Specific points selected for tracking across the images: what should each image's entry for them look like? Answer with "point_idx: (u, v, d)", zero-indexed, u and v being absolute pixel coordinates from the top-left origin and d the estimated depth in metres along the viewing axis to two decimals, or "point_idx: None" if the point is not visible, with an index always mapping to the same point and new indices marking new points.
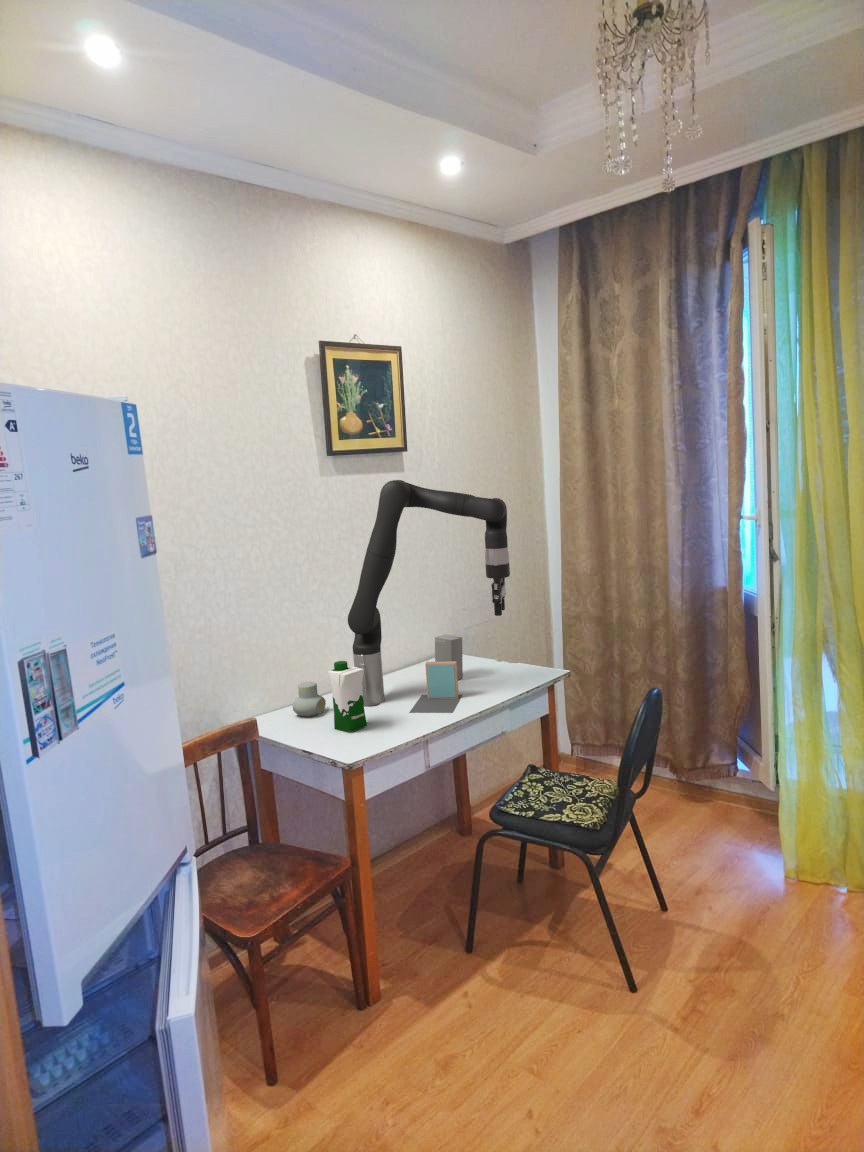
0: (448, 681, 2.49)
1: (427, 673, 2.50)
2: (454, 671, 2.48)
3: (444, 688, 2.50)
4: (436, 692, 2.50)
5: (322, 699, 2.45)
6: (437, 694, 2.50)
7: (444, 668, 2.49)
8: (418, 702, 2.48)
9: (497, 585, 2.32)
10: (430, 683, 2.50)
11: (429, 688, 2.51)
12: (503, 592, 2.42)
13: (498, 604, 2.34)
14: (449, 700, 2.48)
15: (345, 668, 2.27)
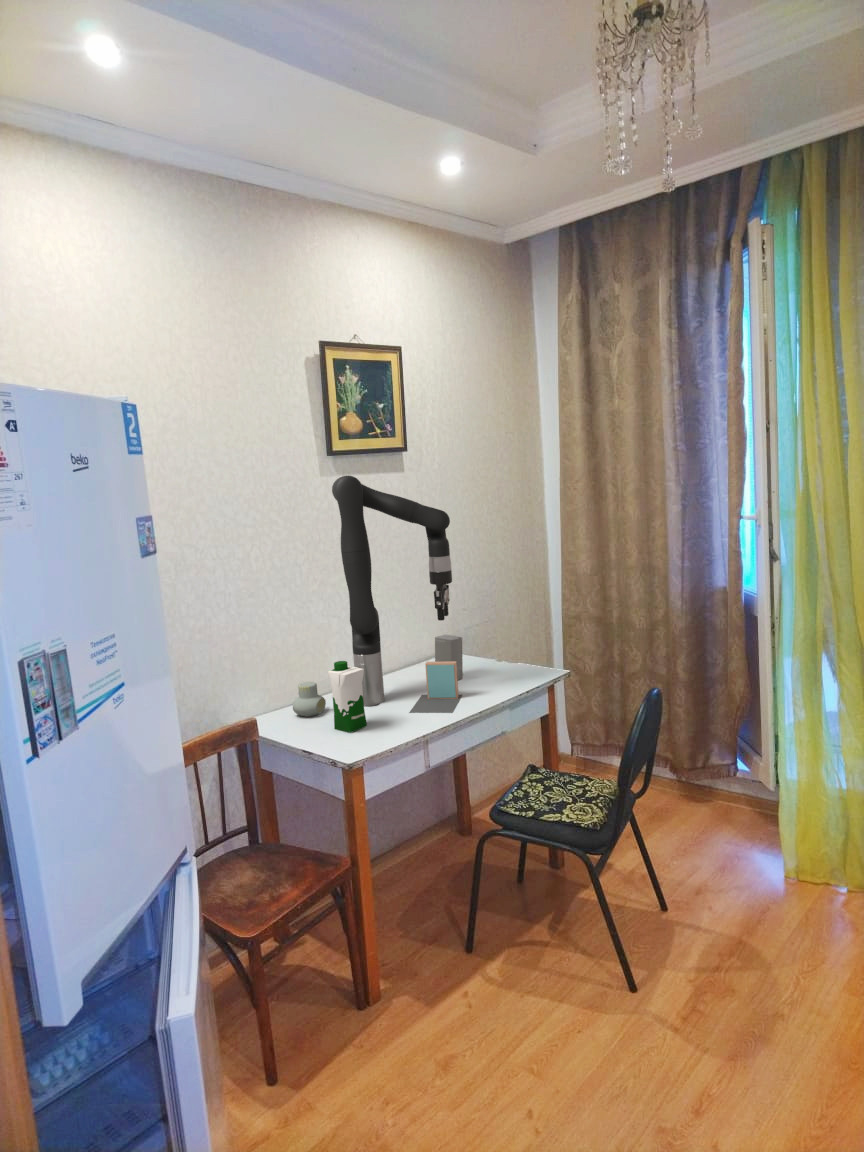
0: (448, 681, 2.49)
1: (427, 673, 2.50)
2: (454, 671, 2.48)
3: (444, 688, 2.50)
4: (436, 692, 2.50)
5: (322, 699, 2.45)
6: (437, 694, 2.50)
7: (444, 668, 2.49)
8: (418, 702, 2.48)
9: (439, 592, 2.48)
10: (430, 683, 2.50)
11: (429, 688, 2.51)
12: (446, 598, 2.58)
13: (440, 609, 2.51)
14: (449, 700, 2.48)
15: (345, 668, 2.27)
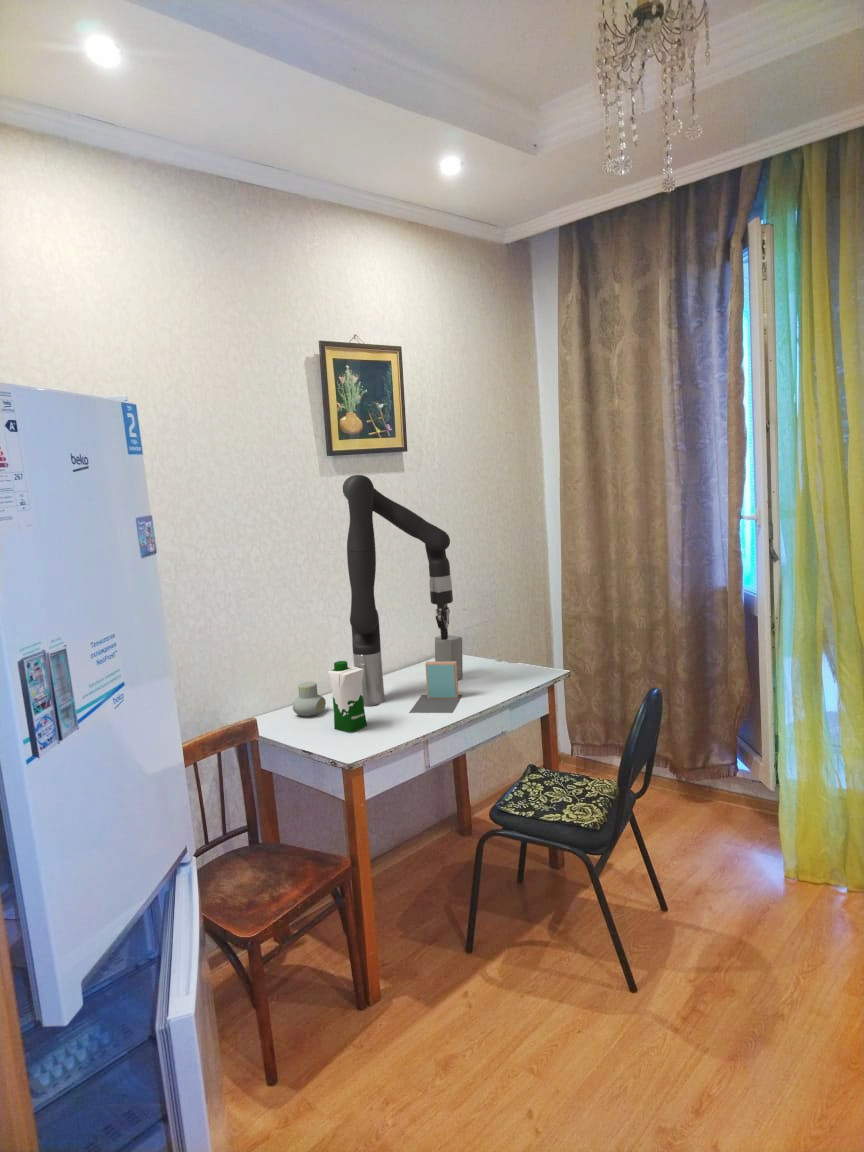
0: (448, 681, 2.49)
1: (427, 673, 2.50)
2: (454, 671, 2.48)
3: (444, 688, 2.50)
4: (436, 692, 2.50)
5: (322, 699, 2.45)
6: (437, 694, 2.50)
7: (444, 668, 2.49)
8: (418, 702, 2.48)
9: (441, 618, 2.50)
10: (430, 683, 2.50)
11: (429, 688, 2.51)
12: None
13: (444, 629, 2.55)
14: (449, 700, 2.48)
15: (345, 668, 2.27)
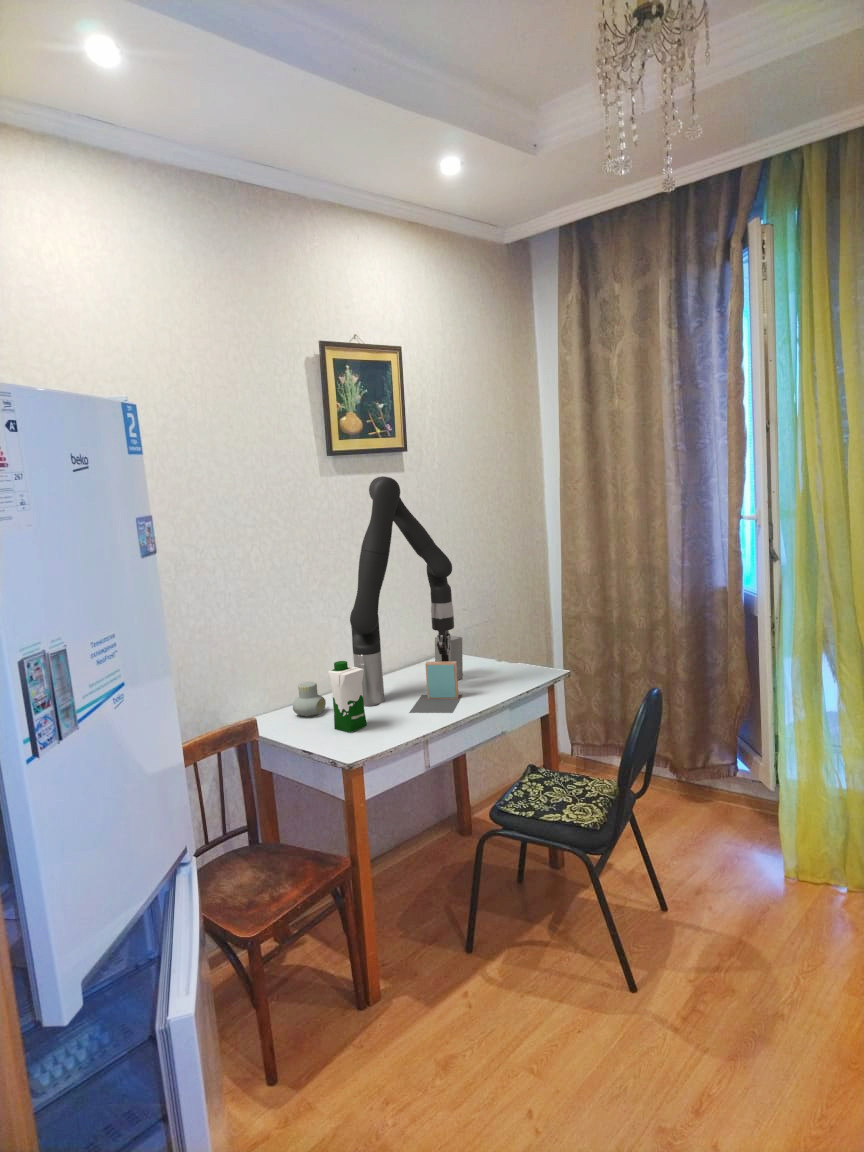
0: (448, 681, 2.49)
1: (427, 673, 2.50)
2: (454, 671, 2.48)
3: (444, 688, 2.50)
4: (436, 692, 2.50)
5: (322, 699, 2.45)
6: (437, 694, 2.50)
7: (444, 668, 2.49)
8: (418, 702, 2.48)
9: (442, 645, 2.51)
10: (430, 683, 2.50)
11: (429, 688, 2.51)
12: None
13: (445, 655, 2.56)
14: (449, 700, 2.48)
15: (345, 668, 2.27)
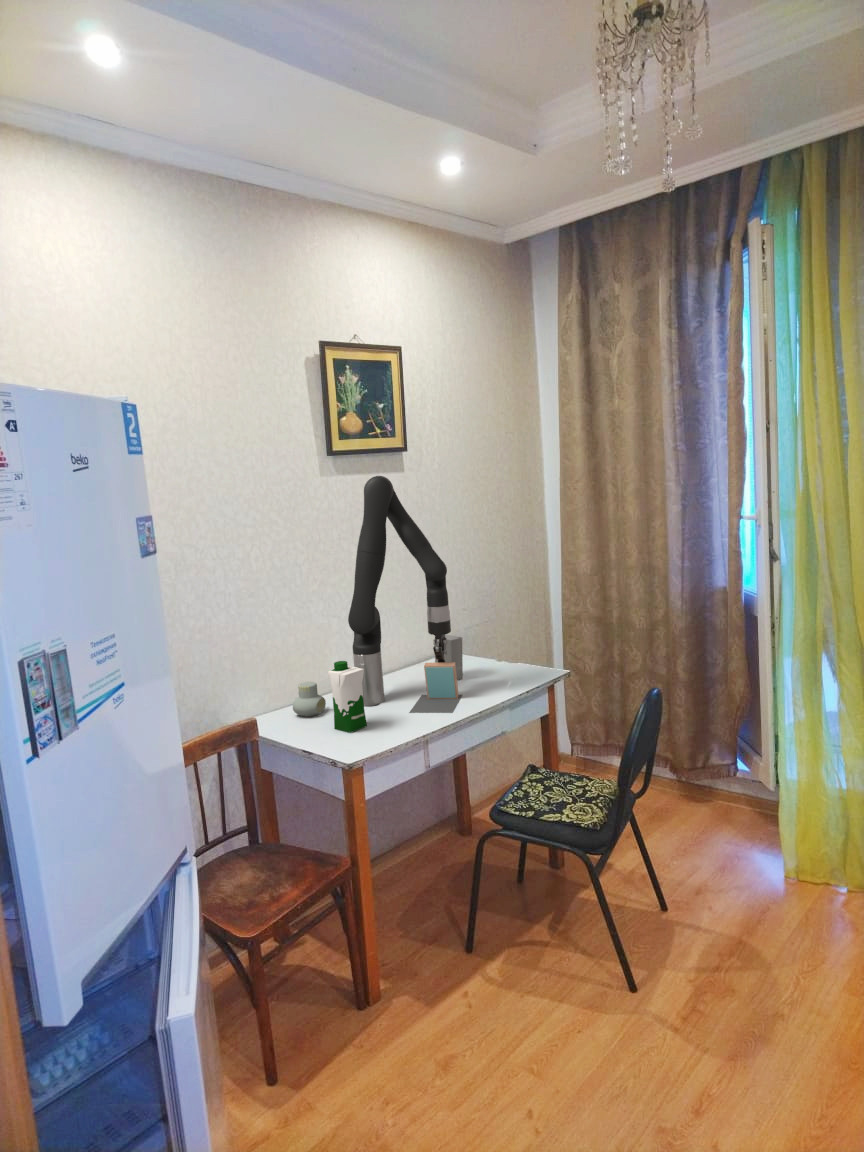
0: (447, 682, 2.48)
1: (426, 675, 2.49)
2: (453, 673, 2.47)
3: (444, 689, 2.49)
4: (436, 693, 2.50)
5: (322, 699, 2.45)
6: (437, 695, 2.50)
7: (443, 670, 2.47)
8: (418, 702, 2.48)
9: (438, 649, 2.45)
10: (429, 684, 2.49)
11: (429, 689, 2.50)
12: None
13: (441, 660, 2.50)
14: (449, 700, 2.48)
15: (345, 668, 2.27)
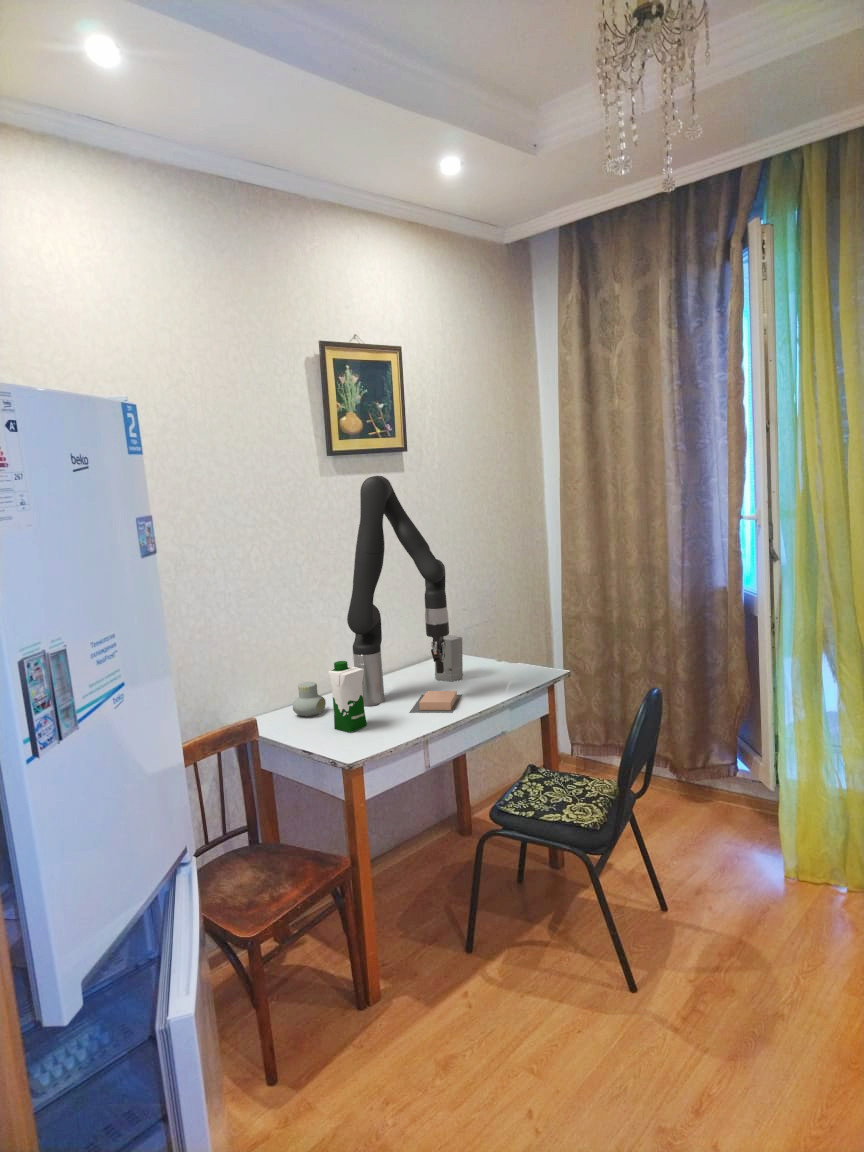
0: None
1: None
2: None
3: None
4: None
5: (322, 699, 2.45)
6: None
7: None
8: (418, 702, 2.48)
9: (436, 652, 2.41)
10: None
11: None
12: None
13: (439, 662, 2.46)
14: None
15: (345, 668, 2.27)
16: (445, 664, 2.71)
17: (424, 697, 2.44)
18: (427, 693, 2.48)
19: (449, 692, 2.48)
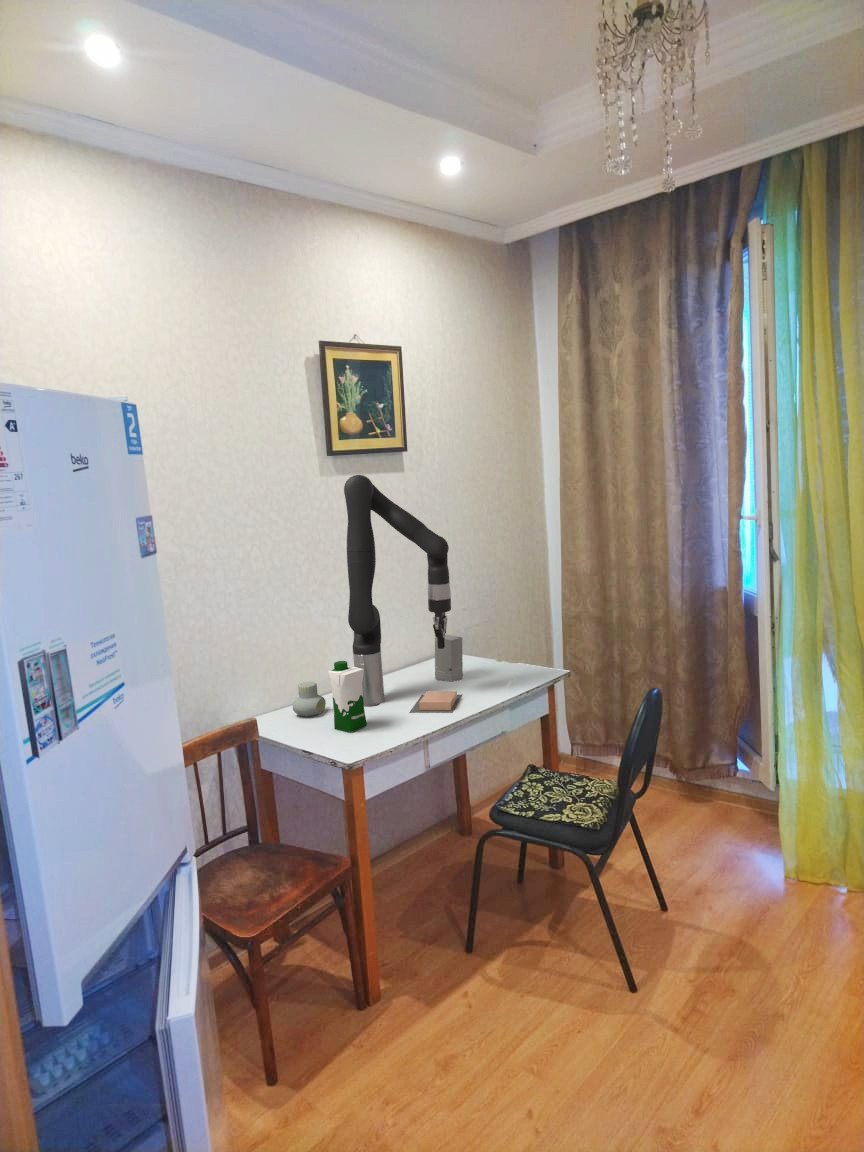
0: None
1: None
2: None
3: None
4: None
5: (322, 699, 2.45)
6: None
7: None
8: (418, 702, 2.48)
9: (438, 627, 2.45)
10: None
11: None
12: None
13: (441, 638, 2.50)
14: None
15: (345, 668, 2.27)
16: (445, 664, 2.71)
17: (424, 697, 2.44)
18: (427, 693, 2.48)
19: (449, 692, 2.48)
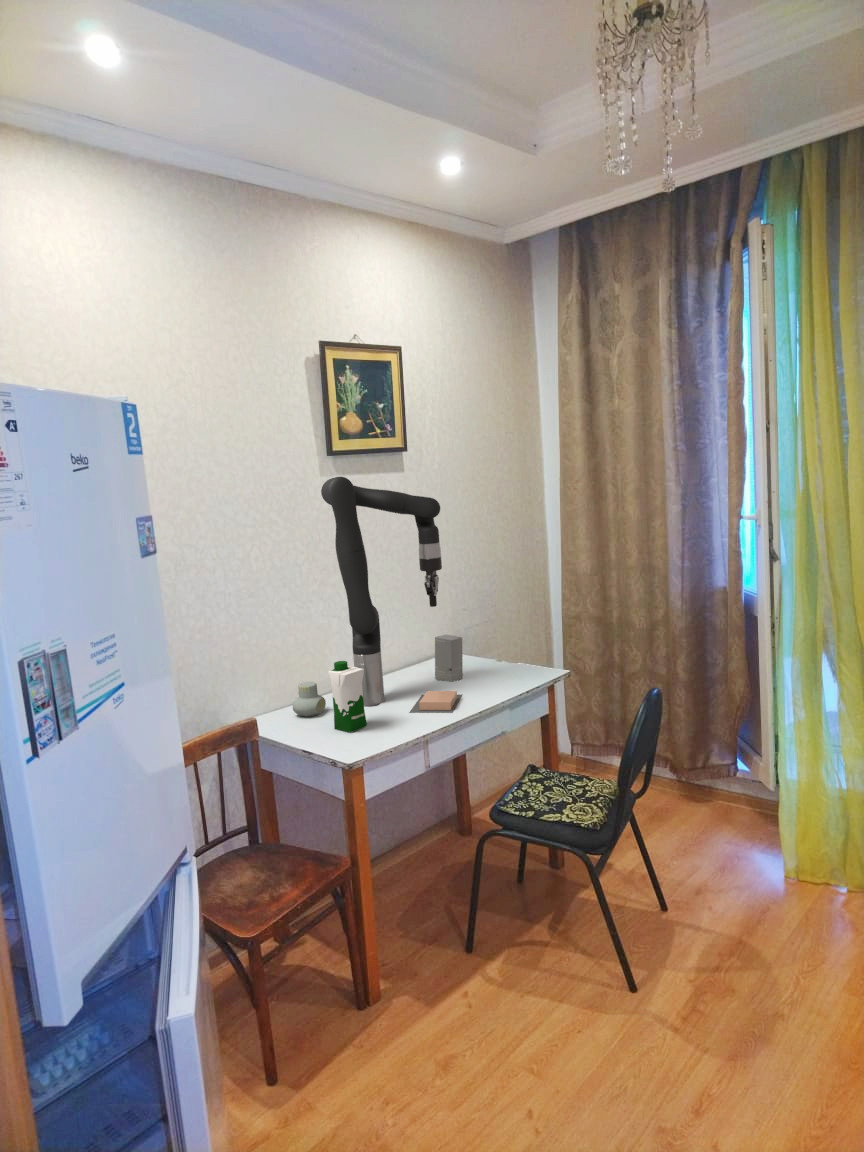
0: None
1: None
2: None
3: None
4: None
5: (322, 699, 2.45)
6: None
7: None
8: (418, 702, 2.48)
9: (429, 584, 2.54)
10: None
11: None
12: None
13: (432, 596, 2.59)
14: None
15: (345, 668, 2.27)
16: (445, 664, 2.71)
17: (424, 697, 2.44)
18: (427, 693, 2.48)
19: (449, 692, 2.48)
